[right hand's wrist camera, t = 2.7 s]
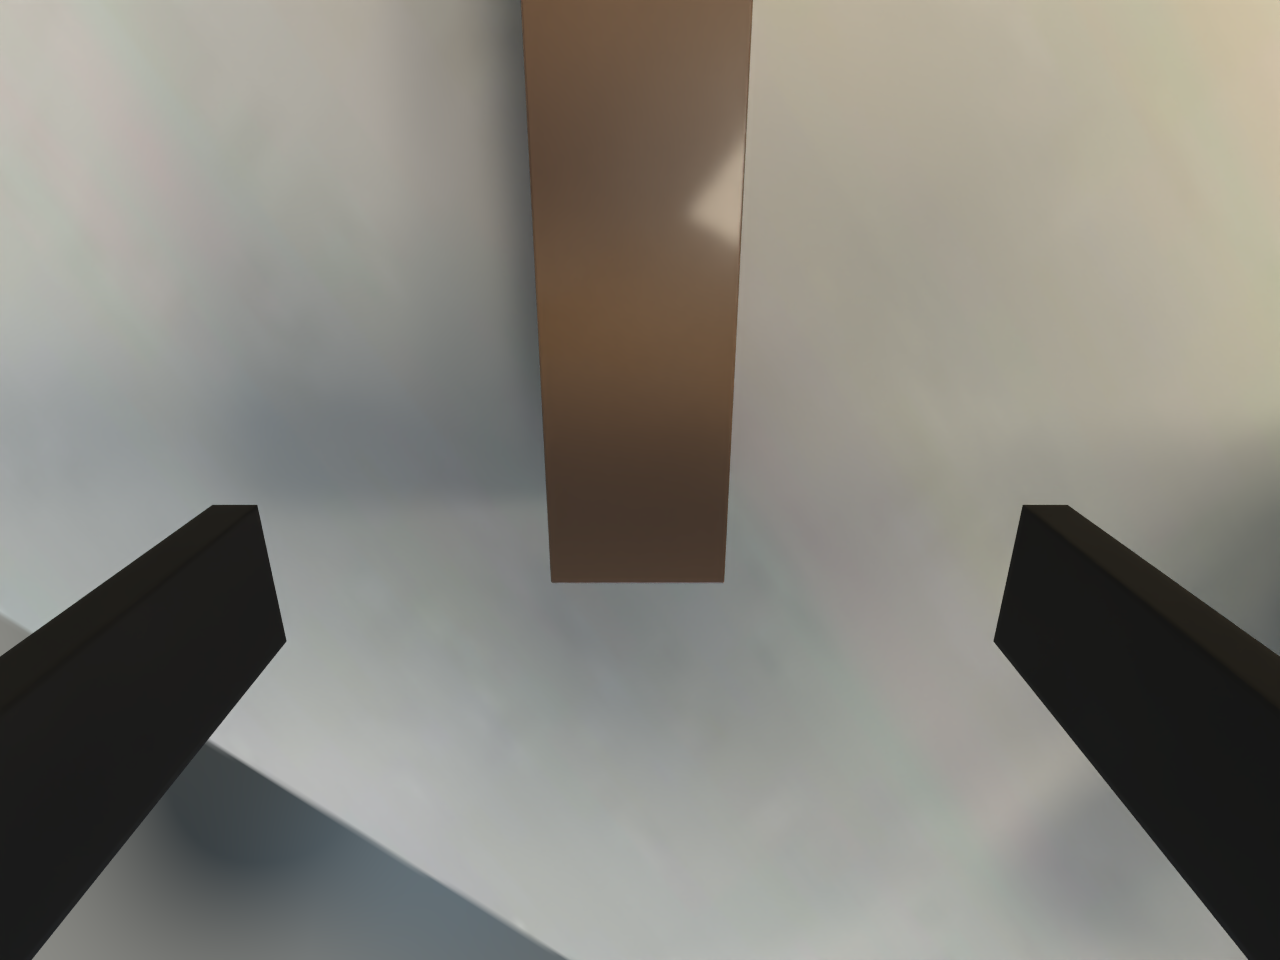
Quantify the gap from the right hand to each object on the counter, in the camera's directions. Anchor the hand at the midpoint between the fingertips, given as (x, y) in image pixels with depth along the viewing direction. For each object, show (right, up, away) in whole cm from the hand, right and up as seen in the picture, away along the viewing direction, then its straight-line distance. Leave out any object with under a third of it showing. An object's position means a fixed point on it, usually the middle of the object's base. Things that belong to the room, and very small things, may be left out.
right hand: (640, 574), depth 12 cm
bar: (0, +39, +1) cm, 39 cm away
